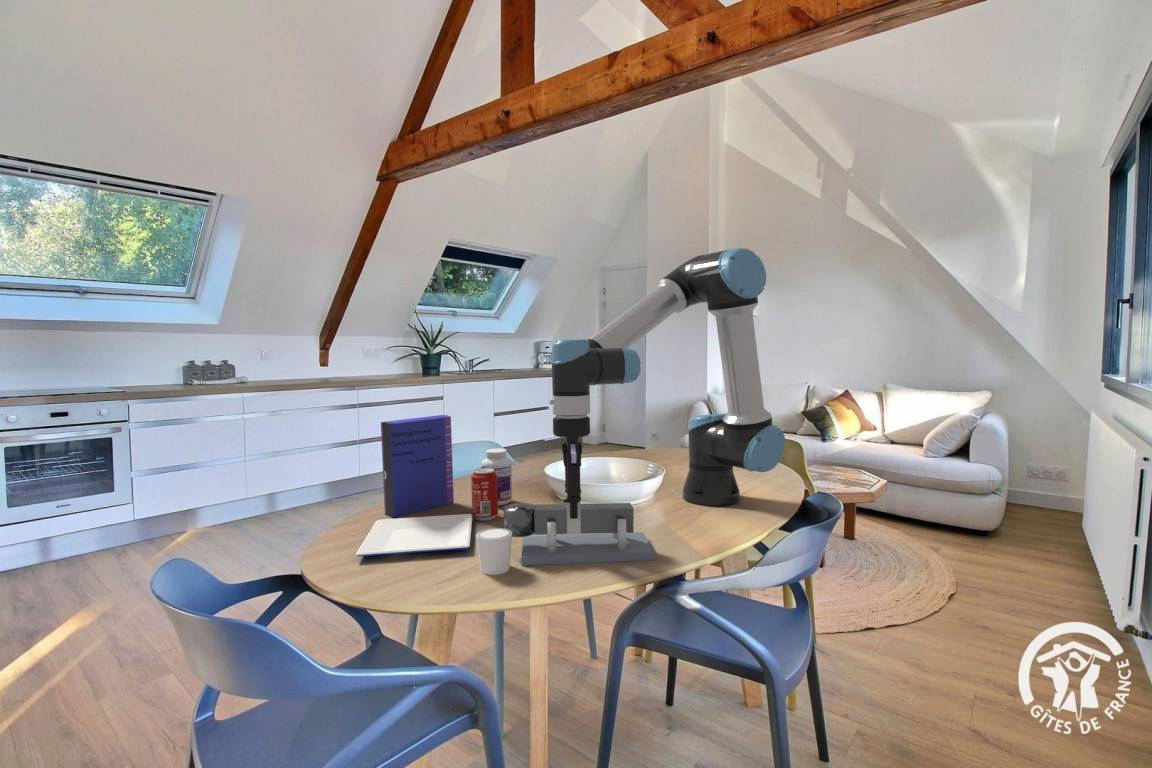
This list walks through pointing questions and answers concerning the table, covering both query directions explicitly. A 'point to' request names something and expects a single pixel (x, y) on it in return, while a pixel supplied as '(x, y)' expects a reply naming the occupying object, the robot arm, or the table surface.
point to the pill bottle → (500, 473)
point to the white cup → (494, 550)
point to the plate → (417, 535)
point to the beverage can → (484, 494)
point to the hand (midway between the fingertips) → (573, 528)
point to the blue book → (417, 464)
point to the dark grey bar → (592, 517)
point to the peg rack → (585, 547)
